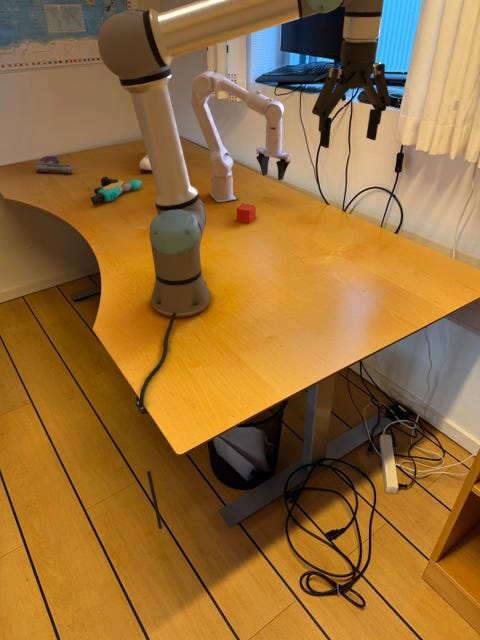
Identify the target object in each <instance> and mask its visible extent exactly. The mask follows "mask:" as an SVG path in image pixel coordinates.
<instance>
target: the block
mask: <svg viewBox="0 0 480 640" xmlns="http://www.w3.org/2000/svg"><path fill="white" fill-rule="evenodd" d="M255 219H256V205H255V204H248V203H243V202H242V204H240V205H239V206H238V207H237V208H236V222H239V223H243V224H250V223H252V222H253V221H254V220H255Z"/></svg>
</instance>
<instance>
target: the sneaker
mask: <svg viewBox="0 0 480 640" xmlns="http://www.w3.org/2000/svg"><path fill="white" fill-rule="evenodd" d="M139 169H141V170H144V171H152V169H151V166H150V162H149V159H148V155H147V154H146V155H145V156H144V157H143V158H142V159H141V160H140V162H139Z"/></svg>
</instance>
